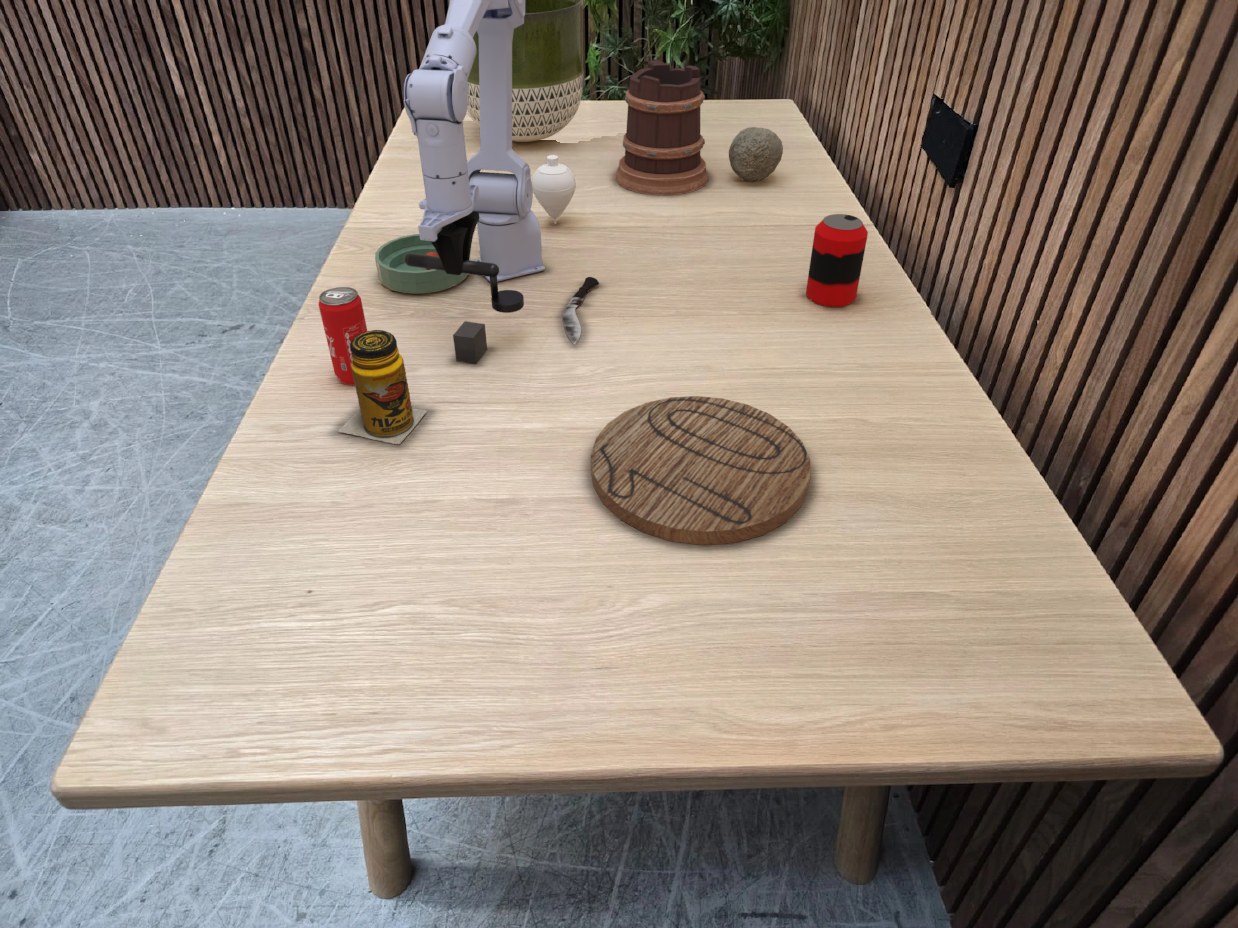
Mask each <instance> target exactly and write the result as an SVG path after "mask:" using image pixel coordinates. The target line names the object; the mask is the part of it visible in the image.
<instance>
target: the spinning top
mask: <svg viewBox="0 0 1238 928" xmlns="http://www.w3.org/2000/svg"><path fill="white" fill-rule="evenodd" d="M546 162H547V163H544V164H542V165H539V167H538V168H537V169H536V170H535V172H534V173H533V174H532V176H531V182H532V189H533V195H534V197H535V198H536V200H537V202H538V203H539V205H540V206H541V207H542V208H543V210H544V211H545V212H546V213H547V214H548V216H549V217H550V218H551V219H553V224H554V225H557V220H558V219H559V218H560V217H561V215H562V214H563V213H564V211H565V210H566V208H567V207H568V205H569V204H570V202H571V200H572V199H573V196H574V194H575V191H576V186H577V182H576V177H575V175H574V173H573V172H572V170H570V169H569V167H568V166H567V165H566V164H562V163H560V162H559V156H558V155H555V154H550V155H547V156H546Z"/></svg>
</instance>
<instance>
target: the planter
mask: <svg viewBox="0 0 1238 928" xmlns="http://www.w3.org/2000/svg"><path fill="white" fill-rule="evenodd" d="M584 17H585V16H584V0H525V16H524V24H522V25H520V26H518V27H517V28H515V29H514V32H513V40H512V142H519V143H529V142H530V143H531V142H536V141H542V140H545V139H548V138H550V137H553V136H554V135H556V134H558V133H559V132H561V131H562V130H563V129H564V128H566V127H567V126H568V124H569V123H570V122H571V121H572V120H573V118H574V117H575V116H576V114H577V112H578V110H579V108H580V105H581V101H582V97H583V91H584V81H585V79H584V77H585V75H584V74H585V73H584V72H585V70H584V69H585V67H584V65H585V61H584V60H585V52H584V51H585V50H584V49H585V47H584V46H585V45H584V41H585V40H584V22H585V21H584V20H585V19H584ZM473 40H474V42H475V45H476V56H475V59H474V62H473V65H472V68H471V71H470V74H469V77H468V80H467V81H468V85H469V92H468V104H467V113H469V115H470V117H471V118H472V119H473V120H474V121H475V123H477V125H478V126H480V97H479V36H478V33H477V31H476V32H475V34H474V36H473Z"/></svg>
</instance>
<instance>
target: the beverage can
mask: <svg viewBox="0 0 1238 928" xmlns="http://www.w3.org/2000/svg"><path fill="white" fill-rule="evenodd" d="M318 300H319V301H318V309H319V314H320V317H321V322H322V325H323V331H324V334H325V338H326V342H327V347H328V351H329V355H330V359H331V362H332V363H331V364H332V369H333V373H334V375H335V376H336V378H337V379H338V381H339V382H340V383H341V384H343V385H345V386H355V383H354V378H353V374H352V369H351V363H352V356H351V355H352V352H351V349H350V343H351V341H352V339H354V338H355V336H357V335H359V334H361V333H363V332H367V331H368V326H367V322H366V316H365V312H364V307H363V303H362V297H361V296H360V295H359V292H358V290H356V288H354V287H351V286H335V287H330V288H328V289H326V290H324V291H322V292H321V293H320V294H319V296H318Z"/></svg>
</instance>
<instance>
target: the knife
mask: <svg viewBox="0 0 1238 928" xmlns="http://www.w3.org/2000/svg"><path fill="white" fill-rule="evenodd" d="M598 285H600V282H599V280H598V279H597V278H595V277H593V276H587V277H585V279H584V282H583V284H582V286H580V287H579V288H578V289H577V291H576V292H575V294H574V295H573V296H572V297H571V299H570V301H569V302H568V304H567V306H566V307H565V309H564V311H563V313H562V315H561V317H562V323H563V327H564V330H565V334H566V336H567V338H568V339H569V341H570V342H571V343H572V344H573V345H574V346H575V345H576V344H577V342H578V341H579V340H580V338H581V334H582V326H581V323H580V320H579V318H578V316H577V314H576V309H577V307H578V306H580V305H582V304H583V303H584V299H585V297H586V294H588V293H589V291H590V290H591V289H593V288H594V287H596V286H598Z"/></svg>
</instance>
